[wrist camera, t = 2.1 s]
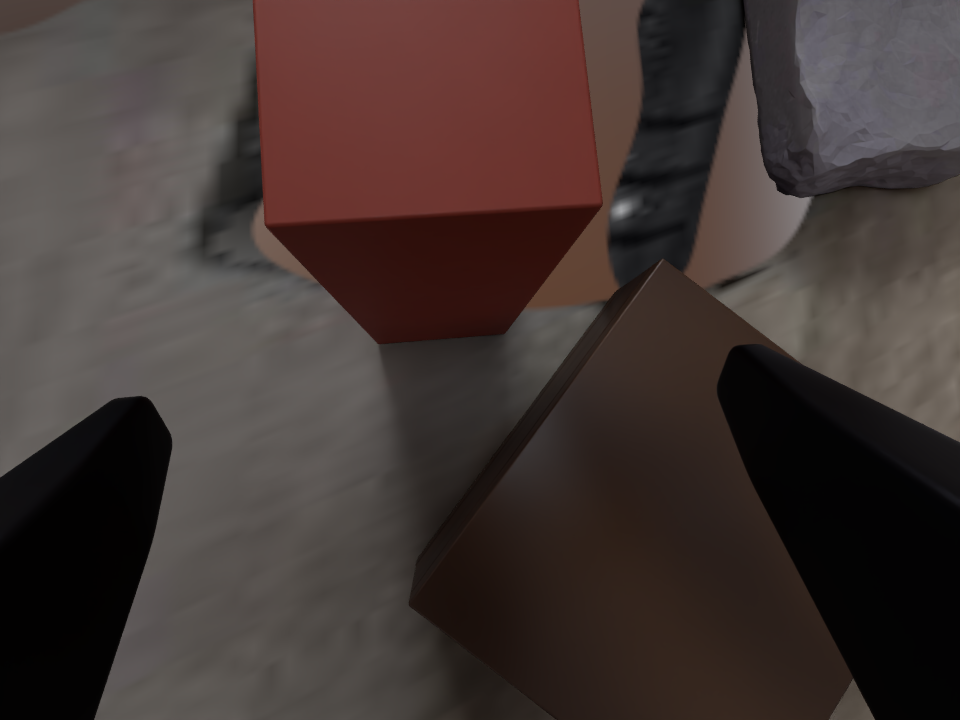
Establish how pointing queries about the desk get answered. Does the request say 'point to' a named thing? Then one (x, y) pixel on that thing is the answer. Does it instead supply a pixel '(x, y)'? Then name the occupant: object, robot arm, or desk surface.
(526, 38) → the pillar block
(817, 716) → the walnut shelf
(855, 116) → the stone block
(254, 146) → the desk surface
